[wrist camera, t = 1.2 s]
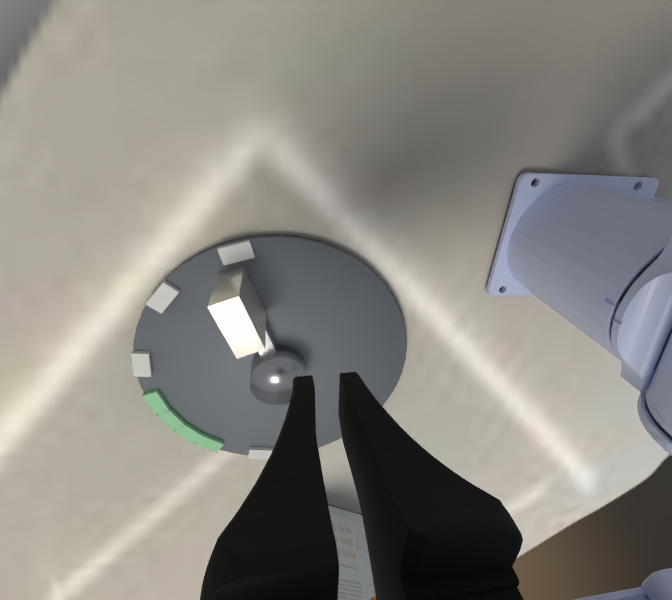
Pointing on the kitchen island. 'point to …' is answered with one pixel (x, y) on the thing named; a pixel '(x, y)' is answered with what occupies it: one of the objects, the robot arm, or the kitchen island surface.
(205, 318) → the dial
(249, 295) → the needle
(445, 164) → the kitchen island surface
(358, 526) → the small box
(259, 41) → the kitchen island surface
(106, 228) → the kitchen island surface
